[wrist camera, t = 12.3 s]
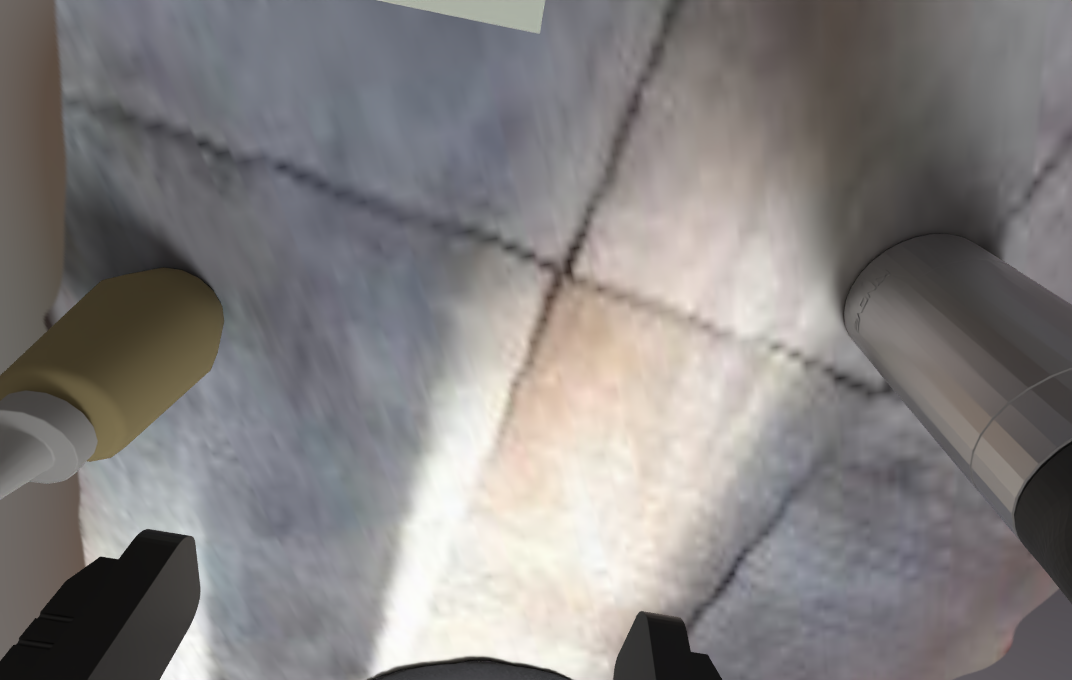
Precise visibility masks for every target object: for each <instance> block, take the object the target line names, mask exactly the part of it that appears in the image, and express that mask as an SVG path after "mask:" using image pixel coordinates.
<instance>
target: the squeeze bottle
mask: <svg viewBox="0 0 1072 680" xmlns="http://www.w3.org/2000/svg"><path fill="white" fill-rule="evenodd" d="M223 324H224V316H223V308H222V305H221V303H220V301H219V300H218V298H217V296H216V295H215V293H214V291H213V290H212V289H211V288H209V287H208V286H207V285H206V284H205V283H204V282H203V281H202V280H201V279H199V278H197V277H195V276H193V275H191V274H189V273H187V272H185V271H183V270H178V269H171V268H164V267H163V268H158V269H152V270H147V271H142V272H137V273H131V274H126V275H122V276H117V277H113V278H109V279H105V280H102V281H101V282H99V283H98V284H97V285H96V286H95V287H94V288H93V289H92V290H91V291H90V292H88V293H87V294H86V295H85V296H84V297H83V298H82V299H81V300H80V301H79V302H78V303H77V304H76V305H75V306H73V307H72V308H71V309H70V310H69V311H68V312H67V313H66V314H65V315H64V316H63V317H62V318H61V319H60V320H59V321H58V322H57V323H55V324H54V325H53V326H52V327H51V328H50V329H49V330H48V331H47V332H46V333H45V334H44V335H43V336H42V337H41V338H40V339H39V340H38V341H36V342H35V343H34V344H33V345H32V346H31V347H30V348H29V349H28V350H27V351H26V352H25V353H24V354H23V355H22V356H20V357H19V358H18V359H17V360H16V361H15V362H14V363H13V364H12V365H11V366H10V367H9V368H8V369H7V370H6V371H5V372H4V373H2V374H1V376H0V499H2V498H3V497H5V496H6V495H8V494H10V493H11V492H12V491H14V490H16V489H17V488H19V487H20V486H22V485H24V484H25V483H27V482H28V481H30V482H38V483H47V484H48V483H54V482H59V481H65V480H67V479H68V478H69V477H71V476H72V475H73V474H75V473H76V472H77V471H78V470H79V469H80V468H81V467H82V466H83V464H84V463H85V462H86V461H89V462H91V461H96V460H102V459H107V458H111V457H113V456H114V455H115V454H117V453H118V452H119V451H121V450H122V449H123V448H125V447H126V446H127V445H128V444H129V443H130V442H131V441H133V440H134V439H135V438H136V437H137V436H138V435H139V434H140V433H141V432H143V431H144V430H145V429H146V428H147V427H148V426H149V425H150V424H151V423H153V422H154V421H155V420H156V419H157V418H158V417H159V416H160V415H161V414H163V413H164V412H165V411H166V410H167V409H168V408H169V407H170V406H171V405H173V404H174V403H175V402H176V401H177V400H178V399H179V398H180V397H181V396H182V395H184V394H185V393H186V392H187V391H188V390H189V389H190V388H191V387H192V386H194V385H195V384H196V383H197V382H198V381H199V380H200V379H201V378H202V377H204V376H205V375H206V374H207V373H208V372H209V371H210V370H211V368H212V365H213V363H214V360H215V358H216V355H217V353H218V348H219V343H220V338H221V333H222V329H223Z"/></svg>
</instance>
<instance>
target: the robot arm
mask: <svg viewBox="0 0 1072 680" xmlns="http://www.w3.org/2000/svg"><path fill="white" fill-rule="evenodd" d="M844 319H845V326H846V329H847V331H848V334H849V336H850V337H851V339H852V340H853V341H854V342H855V344H856V345H857V346H858V347H859V349H860V350H861V351H862V352H863V353H864V355H865V356H866V357H867V358H868V359H869V361H870V362H871V363H872V364H873V366H874V367H875V368H876V369H877V370H878V372H879V373H880V374H881V376H882V377H883V378H884V379H885V380H886V382H887V383H888V384H889V385H890V386H891V388H892V389H893V390H894V391H895V392H896V394H897V395H898V396H899V397H900V398H901V400H902V401H903V402H904V403H905V404H906V406H907V407H908V408H909V409H910V410H911V411H912V413H913V414H914V415H915V416H916V417H917V419H918V420H919V421H920V422H921V423H922V425H923V426H924V427H925V428H926V429H927V431H928V432H929V433H930V434H931V435H932V437H933V438H934V439H935V440H936V441H937V443H938V444H939V445H940V446H941V447H942V449H943V450H944V451H945V452H946V453H947V455H948V456H949V457H950V458H951V459H952V461H953V462H954V463H955V464H956V465H957V466H958V468H959V469H960V470H961V471H962V472H963V474H964V475H965V476H966V477H967V478H968V480H969V481H970V482H971V483H972V484H973V486H974V487H975V488H976V489H977V490H978V491H979V492H980V494H981V495H982V496H983V497H984V498H985V500H986V501H987V502H988V503H989V504H990V506H991V507H992V508H993V509H994V510H995V511H996V513H997V514H998V515H999V516H1000V517H1001V519H1002V520H1003V521H1004V522H1005V523H1006V525H1007V526H1008V527H1009V528H1010V529H1011V531H1012V532H1013V533H1014V534H1015V535H1016V537H1017V538H1018V539H1019V540H1020V541H1021V542H1022V543H1023V545H1024V546H1025V547H1026V548H1027V550H1028V551H1029V552H1030V553H1031V554H1032V555H1033V557H1034V558H1035V559H1036V560H1037V561H1038V562H1039V564H1040V565H1041V566H1042V567H1043V568H1044V570H1045V571H1046V572H1047V573H1048V574H1049V576H1050V577H1051V578H1052V579H1053V581H1054V582H1055V583H1056V585H1057V586H1058V587H1059V589H1060V590H1061V591H1062V592H1063V593H1064V595H1065V596H1066V597H1067V598H1068V600H1069V601H1070V602H1071V603H1072V305H1071V304H1070V303H1068V302H1066V301H1065V300H1063V299H1062V298H1060V297H1059V296H1057V295H1055V294H1054V293H1052V292H1051V291H1049V290H1048V289H1046V288H1044V287H1043V286H1041V285H1040V284H1038V283H1037V282H1035V281H1033V280H1032V279H1030V278H1029V277H1027V276H1025V275H1024V274H1022V273H1021V272H1019V271H1018V270H1016V269H1015V268H1013V267H1012V266H1010V265H1009V264H1007V263H1006V262H1004V261H1002V260H1001V259H999V258H998V257H996V256H994V255H993V254H991V253H990V252H988V251H986V250H985V249H983V248H982V247H980V246H979V245H977V244H975V243H974V242H972V241H969V240H967V239H965V238H963V237H960V236H955V235H950V234H930V235H925V236H920V237H915V238H912V239H910V240H907V241H904V242H902V243H899V244H897V245H895V246H894V247H892V248H890V249H888V250H887V251H885V252H883V253H882V254H881V255H880V256H878V257H877V258H876V259H874V260H873V261H872V262H871V263H870V264H869V265H868V266H867V267H866V268H865V269H864V270H863V271H862V272H861V274H860V275H859V276H858V278H857V279H856V281H855V282H854V284H853V286H852V287H851V289H850V292H849V294H848V297H847V299H846V304H845V310H844ZM199 599H200V580H199V572H198V563H197V554H196V545H195V540H194V538H193V537H192V536H188V535H181V534H175V533H169V532H163V531H157V530H151V529H146V530H143V531H142V532H140V533H139V534H138V535H137V536H136V537H135V538H134V540H133V541H132V542H131V544H130V545H129V546H128V548H127V549H126V550H125V551H124V553H123V554H122V555H121V557H120V558H119V559H112V558H106V557H99V558H98V559H96V560H95V561H94V562H92V563H91V564H89V565H88V566H87V567H85V568H84V569H82V570H81V571H80V572H78V573H77V574H75V575H74V576H72V577H71V578H70V579H68V580H67V581H66V582H65V583H64V584H63V585H62V586H61V588H60V589H59V590H58V591H57V593H56V594H55V595H54V596H53V597H52V599H51V600H50V601H49V602H48V603H47V605H46V606H45V607H44V608H43V610H42V611H41V613H40V616H39V617H38V618H37V619H36V618H35V619H34V621H33V622H32V623H31V624H30V625H29V627H28V628H27V629H26V630H25V632H24V633H23V634H22V635H21V636H20V638H19V641H18V643H17V644H16V645H13V646H12V647H11V649H10V650H9V651H8V652H7V653H6V655H5V656H4V657H3V658H2V660H1V661H0V680H160V678H161V676H162V674H163V673H164V671H165V669H166V667H167V666H168V664H169V662H170V660H171V659H172V657H173V655H174V653H175V652H176V650H177V648H178V646H179V645H180V643H181V641H182V639H183V638H184V636H185V634H186V632H187V631H188V629H189V627H190V625H191V623H192V621H193V618H194V616H195V613H196V610H197V607H198V604H199ZM613 680H722V678H721V677H720V675H719V673H718V671H717V670H716V668H715V666H714V665H713V663H712V661H711V660H710V658H709V656H708V655H707V654H700V653H694V652H691V651H690V646H689V641H688V636H687V631H686V627H685V624H684V622H683V620H682V619H681V618H680V617H674V616H668V615H662V614H656V613H650V612H644V611H641V612H639V613H638V615H637V616H636V618H635V621H634V623H633V625H632V627H631V629H630V631H629V633H628V635H627V637H626V640H625V642H624V644H623V646H622V648H621V650H620V652H619V654H618V657H617V660H616V664H615V669H614V678H613Z"/></svg>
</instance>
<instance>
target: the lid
mask: <svg viewBox="0 0 1072 680" xmlns="http://www.w3.org/2000/svg"><path fill="white" fill-rule="evenodd" d="M378 1H383V2H388V3H393V4H398V5H403V6H407V7H412V8H417V9H422V10H427V11H432V12H436V13H441V14H446V15H451V16H456V17H461V18H465V19H470V20H475V21H480V22H485V23H490V24H495V25H499V26H504V27H509V28H514V29H519V30H524V31H528V32H533V33H538V34H540V28H541V22H542V16H543V10H544V4H545V0H378Z"/></svg>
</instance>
